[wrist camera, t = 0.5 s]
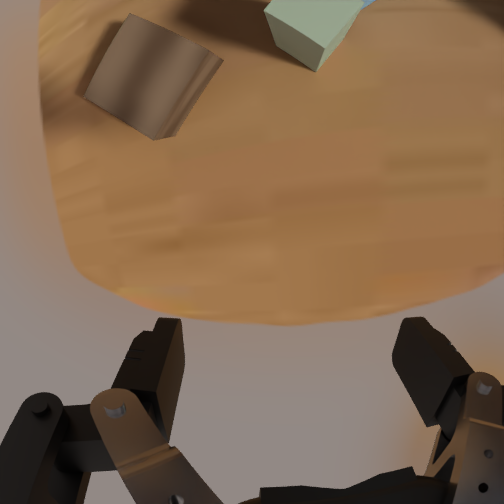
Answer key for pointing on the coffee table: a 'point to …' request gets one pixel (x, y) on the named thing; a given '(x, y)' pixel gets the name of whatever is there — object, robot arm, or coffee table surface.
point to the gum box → (367, 3)
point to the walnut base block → (151, 77)
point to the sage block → (311, 27)
